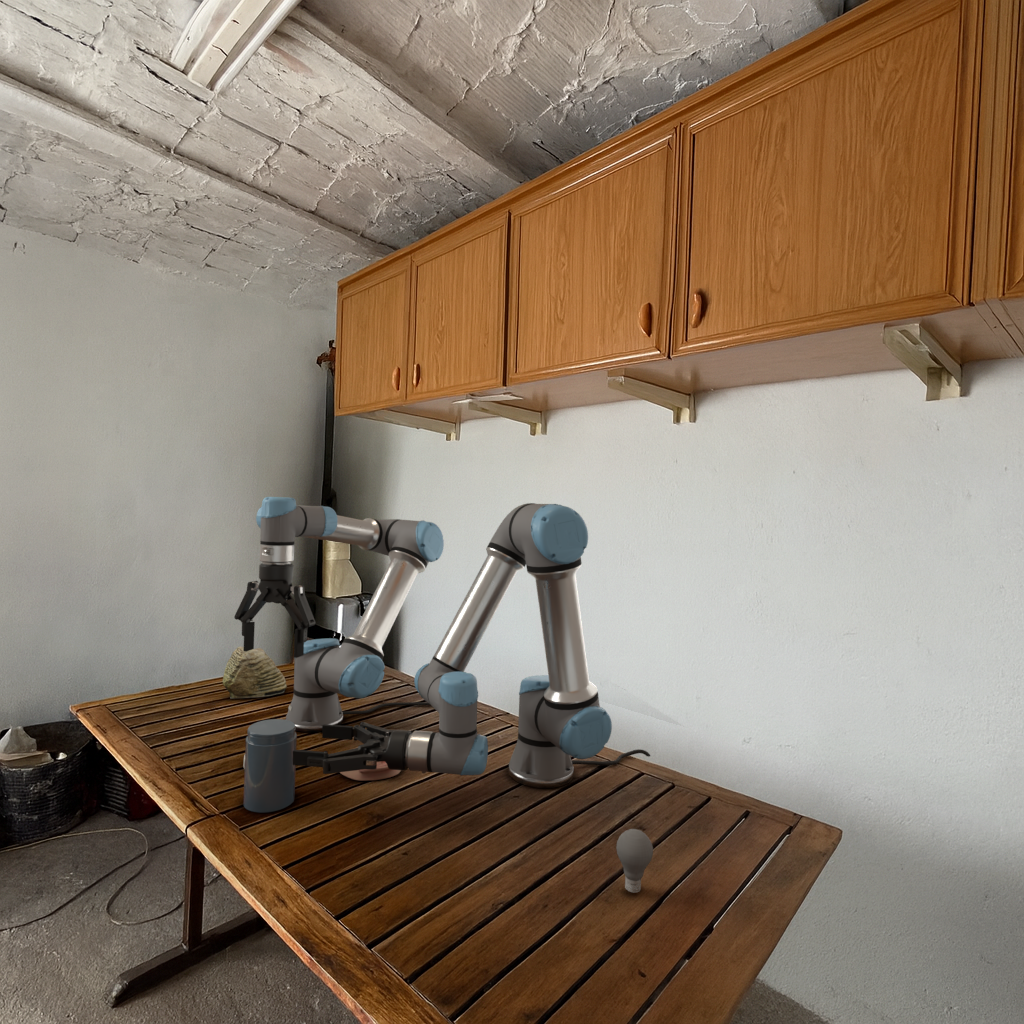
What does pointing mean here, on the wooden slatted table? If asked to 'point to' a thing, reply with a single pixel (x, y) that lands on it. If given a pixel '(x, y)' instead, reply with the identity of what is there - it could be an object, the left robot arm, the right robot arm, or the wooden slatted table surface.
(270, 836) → the wooden slatted table surface
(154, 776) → the wooden slatted table surface
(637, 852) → the light bulb
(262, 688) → the fossil
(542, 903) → the wooden slatted table surface
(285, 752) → the jar
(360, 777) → the anatomical model
